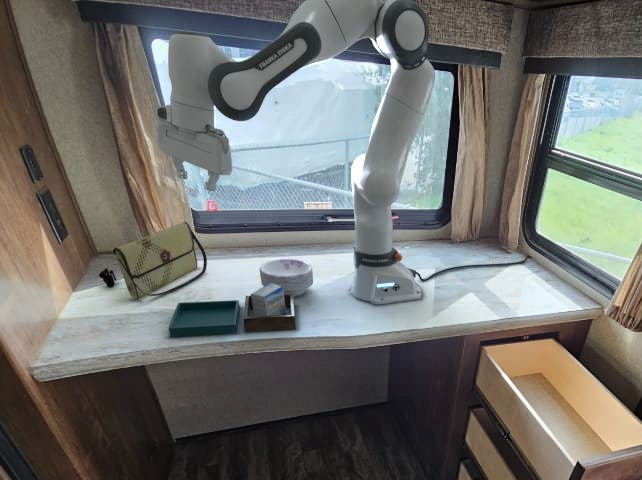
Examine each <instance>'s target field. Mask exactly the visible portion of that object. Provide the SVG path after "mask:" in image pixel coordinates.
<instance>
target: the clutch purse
mask: <svg viewBox="0 0 642 480" xmlns="http://www.w3.org/2000/svg"><path fill="white" fill-rule="evenodd" d="M195 243H196V245H197V246H198V248H199V250H200V252H201V255H202V258H203V259H202V260H203V265H202V270H201V271H200V272H199V273H198V274H197V275H195V276H194V277H193V278H191V279H189V280H188V281H186V282H184V283H182V284H179V285H177V286H175V287H173V288H170V289H167V290H165V291H162V292H159V293H153V294H152V292H153V291H156V290H157V289H159V288H161V287H162V286H165V285H166V284H169V283H170V282H172V281H174V280H176V279H178V278H180V277H182V276H183V275H186V274H187V273H189V272H191V271H193V270H197V268H198V259H197V254H196V251H195ZM112 254H113V258H114V259H115V260H116V261H117V263H118V266H119V269H120V272H121V274H122V278H123V280H124V283H125V286H126V288H127V291H128V293H129V295H130V297H131V298H132V299H133V300H134V301H138V300H139V299H140V298H142V297H144V296H149V297H157V296H163V295H166V294H168V293H171V292H173V291H175V290H178V289H180V288H183V287H185V286H187V285H189V284H190V283H192V282H194V281H196V280H198V278H200V277H201V276H203V275H204V274H205V273H206V271H207V265H208V258H207V255H206V252H205V249H204V247H203V245H202V244H201V242H200V240H199V239H198V238H197V237H196V234H195V233H194V231H193V230H192V225H190V224H189V223H188V222H187V221H182V222H179V223H177V224H174V225H172V226H170V227H167V228H164V229H162V230H159V231H156V232H154V233H151V234H148V235H146V236H143V237H140V238H139V239H136V240H134V241H131V242H128V243H125V244H123V245H121V246H118V247H114V248H113V252H112ZM150 293H151V294H150Z"/></svg>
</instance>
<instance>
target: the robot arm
mask: <svg viewBox="0 0 642 480" xmlns="http://www.w3.org/2000/svg"><path fill="white" fill-rule="evenodd" d="M429 25H430V24H429V21H428V17H427V15H426V13H425V11H424V10H423V8H422V7H421V6H420V5H419V4H418V3H417V2H415V1H413V0H304V1H303V2H302V3H301V4H300V5H299V6H298V8H296V10H295V11H294V12H293V14H292V15H291V18H290V19H289V22H288V24H287V25H286V27H285V28H284V30H283V31H282V33H280V35H278V37H276V38H275V39H274V40H273V41H271V42H270V43H269V44H267V45H266V46H264V47H263V48H261V49H260V50H259V51H257V52H256V53H254V54H253V55H251V56H250V57H248V58H246V59H244V60H241V61H236V60H235V59H233V58H232V57H231V56H229V55H228V54H227V53H226V52H225V51H224V50H222V49H221V48H220V47H219V46H218V45H217V44H216V43H215V42H214V41H213V39H212V38H211V37H210V36H208V35H207V34H206V33H205V34H204V33H201V32H194V31H185V30H184V31H183V30H181V31H180V30H179V31H175V32H173V33H171V35H170V37H169V40H168V45H167V46H168V50H167V67H168V69H167V70H168V78H169V81H170V86H171V92H170V95H169V96H170V97H169V100H170V104H167V105H161V106H156V107H154V114H155V117H156V118H158V120H157V121H156V137H157V145H158V147H159V149H160V151H161V153H163V154H165V155H167V156H170V157H171V162H172V164H173V166H174V168H175V170H176V177H177V178H178V179H181V180H188V171H187V170H185V166H184V163H185V162H186V163H187V164H191V165H193V166H195V167H197V168H200V169H203V170H205V171H207V176H209V177H208V179H207V181H204V185H205V186H204V188H205V190H206V191H209V192H215V191H216V190H217V183H218V181H219V179H220V178H221V177H220V176H230V175H231V174H232V172H233V159H232V149H231V145H230V139H229V137H228V136H227V135H226V133H225V130H222V129H221V128H217V127H216V125H217V124H216V122H217V121H216V119H217V117H216V110H217V111H218V112H219V113H221V114H222V115H223V116H224V117H226V118H227V119H229V120H232V121H234V122H235V121H236V122H246V121H249V120H251V119H253V118H254V117H256V116H257V114H258V113H259V111H260V109H261V107H262V105H263V103H264V100H265V98H266V97H267V95H268V94H269V93H270V92H271V91H272V90H274V89H275V88H276V87H278V86H279V85H281V84H282V83H284V81H286V80H288V79H289V78H290V77H291V76H293V75H294V74H295V73H297V72H299V71H300V70H301V69H304V68H306V67H309V66H313V65H317V64H320V63H323V62H326V61H328V60H330V59H332V58H334V57H337V56H338V55H340V54H342V53H343V52H345V51H346V50H347V49H349V48H350V47H351V46H353V45H354V44H355V43H357V42H358V41H360V40H363V39H365V40H366V42H367V43H368V45H370V46H371V48H372V49H373V50H374V51H375V52H376V53H377V54H378V55H379V56H381V57H383V58H387V59H389V60H390V67H391V69H390V70H391V72H390V76H389V82H388V84H387V87H386V88H385V91H384V94H383V96H382V99H381V101H380V104H379V107H378V109H377V112H376V114H375V118H374V120H373V123H372V126H371V132H370V136H369V142H368V143H367V149H366V152H365V153H361V154H360V155H358V156H357V157H355V160H353V162H352V165H351V170H350V171H351V172H350V173H351V174H350V176H351V177H350V179H351V193H352V195H351V196H352V206H353V214H354V240H355V241H354V243H355V245H354V247H353V265H354V275H353V280H352V285H351V289H350V292H351V294H352V295H353V296H354V297H356V298H357V299H360V300H363V301H366V302H370V303H372V304H374V305H378V306H379V305H386V304H387V305H388V304H393V303H399V302H401V303H402V302H407V301H408V302H409V301H414V300H420V298H422V288H421V287H420V286H419V285H418V283H416V281H415V278H416V277H417V276H418V279H419V280H420V281H421V282H426V281H429V280H431V279H432V278H433V277H435V276H438V275H439V274H442V273H444V272H447V271H452V270H457V269H464V268H475V267H478V268H479V267H499V266H511V265H520V264H523V263H525V262H527V260H528V259H529V258H531V257H532V255H530V254H527V255H526V257H525V258H524V259H523V260H520V261H513V262H504V263H503V262H502V263H486V264H485V263H484V264H481V263H480V264H466V265H457V266H452V267H448V268H444V269H442V270H439V271H436V272H434V273H432V274H431V275H430V276H429V277H427V278H423V277H422V275H421V274H420V273H419V272H418V271H417V270H415V269H412V268H409V267H407V266H406V265H405V264H403V263H402V262H401V261H402V260H403V256H402V254H401V253H400V252H399V251H398V250H397V249H396V248H395V247H394V246H393V235H394V233H393V231H394V230H393V228H394V222H393V215H392V214H393V213H392V205H393V204H394V203H395V202H396V201H397V199H398V198H399V195H400V189H401V183H402V179H403V178H404V177H403V176H404V173H405V170H406V165H407V162H408V158H409V154H410V151H411V148H412V145H413V142H414V140H415V138H416V135H417V133H418V131H419V128H420V126H421V124H422V121H423V118H424V117H425V114H426V111H427V109H428V106H429V104H430V100H431V97H432V93H433V90H434V85H435V81H436V71H435V68H434V66H433V65H432V63H431V62H430V61H429V60H428V57H429V37H430V26H429ZM529 255H530V256H529Z"/></svg>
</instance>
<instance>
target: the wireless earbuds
mask: <svg viewBox="0 0 642 480" xmlns="http://www.w3.org/2000/svg"><path fill="white" fill-rule="evenodd" d="M98 277H99V278H100V279H102V281H103V283H104V284H105V285H106V287H108V288H112V287H114V285H115V283H116V282H115V281H117V278H116V275H115V273H114V270H112V269H110V270H109V269H108V268H104V269H103V270H101V271H100V272H99V274H98Z"/></svg>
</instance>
